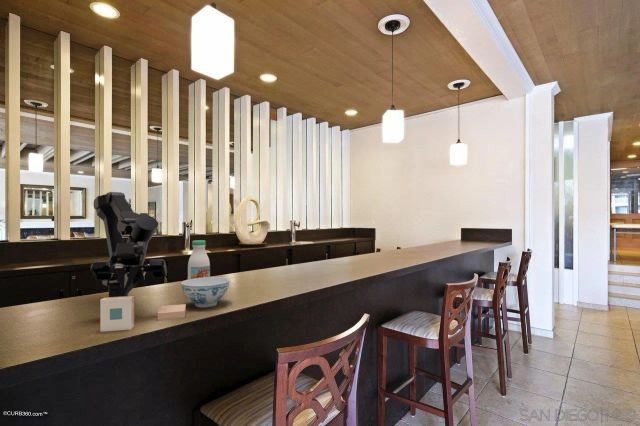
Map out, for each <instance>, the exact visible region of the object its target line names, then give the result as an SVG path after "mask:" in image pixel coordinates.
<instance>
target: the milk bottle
mask: <svg viewBox="0 0 640 426" xmlns="http://www.w3.org/2000/svg"><path fill="white" fill-rule="evenodd" d="M206 242H207V241H206V240H202V239H200V240H197V239H196V240H192V243H191V244H192V252H191V255H190V257H189V259H188V261H187V262H188V263H187V280H189V279H195V278H204V277H211V264H210V263H211V262H210V258H209V256H208V254H207V251H206Z"/></svg>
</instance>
